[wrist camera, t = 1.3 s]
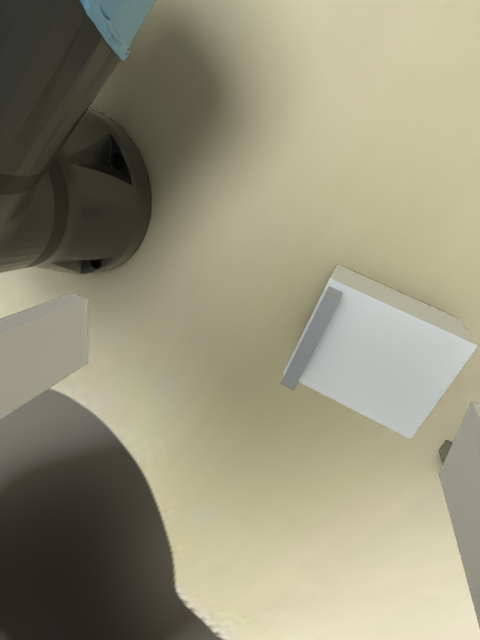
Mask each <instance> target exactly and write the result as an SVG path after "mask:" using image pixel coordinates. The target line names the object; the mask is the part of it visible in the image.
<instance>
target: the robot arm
mask: <svg viewBox="0 0 480 640" xmlns="http://www.w3.org/2000/svg"><path fill="white" fill-rule="evenodd" d="M155 1H156V0H0V273H2V272H7V271H12V270H17V269H22V268H27V267H32V266H33V267H39V268H44V269H50V270H55V271H61V272H66V273H71V274H92V273H97V272H101V271H105V270H109V269H112V268H114V267H117V266H119V265H120V264H122V263H123V262H125V261H126V260H127V259H128V258H130V257H131V256H132V255H133V253H134V252H135V251H136V250H137V248H138V247H139V245H140V243H141V242H142V240H143V238H144V235H145V233H146V230H147V227H148V223H149V218H150V211H151V192H150V184H149V179H148V174H147V171H146V168H145V165H144V162H143V160H142V157H141V155H140V153H139V151H138V149H137V148H136V146H135V144H134V143H133V141H132V140H131V138H130V137H129V136H128V135H127V133H126V132H125V131H124V130H123V129H122V128H121V127H120V126H119V125H118V124H117V123H115V122H114V121H113V120H111V119H110V118H108V117H107V116H105V115H103V114H101V113H99V112H96V111H94V110H91V109H88V108H89V106H90V105H91V103H92V102H93V100H94V99H95V97H96V96H97V94H98V93H99V91H100V90H101V88H102V87H103V85H104V84H105V82H106V81H107V79H108V78H109V76H110V75H111V73H112V72H113V70H114V69H115V67H116V66H117V64H118V63H119V61H120V60H125V59H126V58H127V57H128V56H129V54H130V47H129V46H130V44H131V42H132V40H133V39H134V37H135V35H136V33H137V32H138V30H139V28H140V27H141V25H142V23H143V21H144V20H145V18H146V16H147V15H148V13H149V11H150V10H151V8H152V6H153V5H154V3H155ZM86 364H88V298H86V297H82V296H79V295H75V294H71V293H70V294H67V295H65V296H62V297H59V298H56V299H54V300H51V301H48V302H45V303H43V304H40V305H37V306H34V307H31V308H29V309H26V310H23V311H20V312H18V313H15V314H12V315H9V316H7V317H4V318H1V319H0V419H1V418H3V417H5V416H6V415H8V414H9V413H11V412H12V411H14V410H15V409H17V408H19V407H20V406H22V405H23V404H25V403H27V402H28V401H30V400H31V399H33V398H34V397H36V396H38V395H39V394H41V393H42V392H44V391H45V390H47V389H49V388H50V387H52V386H53V385H55V384H56V383H58V382H59V381H61V380H63V379H64V378H66V377H67V376H69V375H70V374H72V373H74V372H75V371H77V370H78V369H80V368H81V367H83V366H85V365H86ZM439 476H440V480H441V484H442V487H443V491H444V495H445V499H446V503H447V506H448V510H449V514H450V518H451V521H452V525H453V529H454V533H455V536H456V540H457V544H458V548H459V552H460V555H461V559H462V563H463V567H464V570H465V574H466V578H467V582H468V585H469V589H470V593H471V597H472V601H473V604H474V608H475V612H476V616H477V619H478V623H479V627H480V404H478V403H475V402H471V403H470V405H469V408H468V410H467V412H466V414H465V417H464V419H463V421H462V423H461V426H460V428H459V430H458V432H457V434H456V437H455V439H454V441H453V443H452V446H451V448H450V450H449V452H448V455H447V457H446V459H445V461H444V463H443V466H442V468H441V470H440V472H439Z"/></svg>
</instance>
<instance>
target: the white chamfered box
mask: <svg viewBox="0 0 480 640" xmlns="http://www.w3.org/2000/svg"><path fill="white" fill-rule="evenodd" d="M477 346H478V345H477V344H476V342H475V341H474V340H473V338H472V337H471V335H470V334H469V333H468V331H467V330H466V328H465V327H464V326H463V324H462V323H461V321H460V320H459V319H458V318H456V317H454V316H452V315H449V314H447V313H445V312H443V311H440V310H438V309H436V308H434V307H431V306H429V305H427V304H425V303H423V302H420V301H418V300H416V299H414V298H411V297H409V296H407V295H405V294H402V293H400V292H398V291H396V290H394V289H391V288H389V287H387V286H385V285H382V284H380V283H378V282H376V281H373V280H371V279H369V278H367V277H365V276H362V275H360V274H358V273H356V272H353V271H351V270H349V269H347V268H344V267H342V266H340V265H338V264H337V266H336V268H335V270H334V271H333V273H332V275H331V277H330V278H329V281H328V283H327V285H326V287H325V289H324V291H323V293H322V295H321V297H320V299H319V301H318V303H317V305H316V307H315V309H314V311H313V313H312V315H311V317H310V319H309V321H308V323H307V325H306V327H305V329H304V331H303V333H302V335H301V337H300V339H299V341H298V343H297V345H296V347H295V349H294V351H293V353H292V355H291V358H290V360H289V362H288V364H287V366H286V368H285V370H284V372H283V374H284V375H285V376H284V378H283V380H282V382H281V384H282V385H284V386H286V387H288V388H290V389H292V390H294V389H295V387H296V385H297V383H298V382H300V383H302V384H304V385H306V386H308V387H310V388H312V389H314V390H315V391H317V392H319V393H321V394H323V395H325V396H327V397H329V398H331V399H333V400H335V401H337V402H339V403H341V404H343V405H345V406H347V407H348V408H350V409H352V410H354V411H356V412H358V413H360V414H362V415H364V416H366V417H368V418H370V419H372V420H374V421H376V422H378V423H379V424H381V425H383V426H385V427H387V428H389V429H391V430H393V431H395V432H397V433H399V434H401V435H403V436H405V437H407V438H409V439H411V438H412V437H413V435H414V434H415V432H416V431H417V430H418V428H419V427H420V426H421V424H422V423H423V421H424V420H425V419H426V417H427V416H428V414H429V413H430V412H431V410H432V409H433V407H434V406H435V405H436V403H437V402H438V401H439V399H440V398H441V396H442V395H443V394H444V392H445V391H446V389H447V388H448V387H449V385H450V384H451V383H452V381H453V380H454V378H455V377H456V376H457V374H458V373H459V371H460V370H461V369H462V367H463V366H464V365H465V363H466V362H467V360H468V359H469V358H470V356H471V355H472V353H473V352H474V351H475V349H476V348H477Z"/></svg>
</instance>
